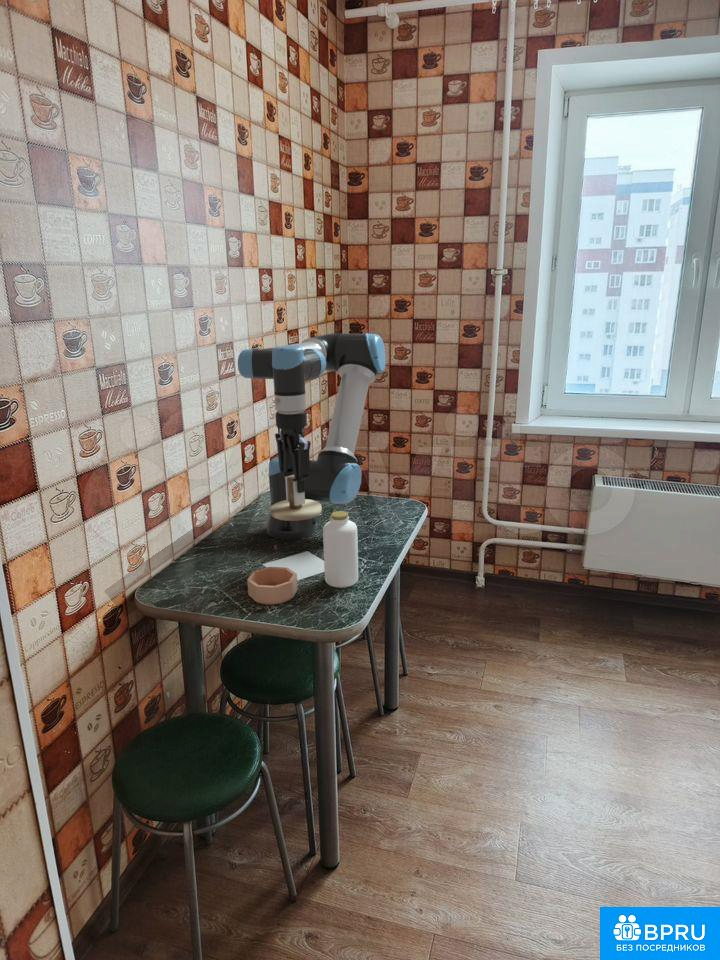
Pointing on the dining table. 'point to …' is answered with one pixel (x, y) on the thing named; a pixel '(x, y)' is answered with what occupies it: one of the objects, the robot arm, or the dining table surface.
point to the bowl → (272, 585)
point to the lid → (295, 507)
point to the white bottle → (340, 551)
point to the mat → (300, 564)
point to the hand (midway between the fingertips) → (295, 502)
